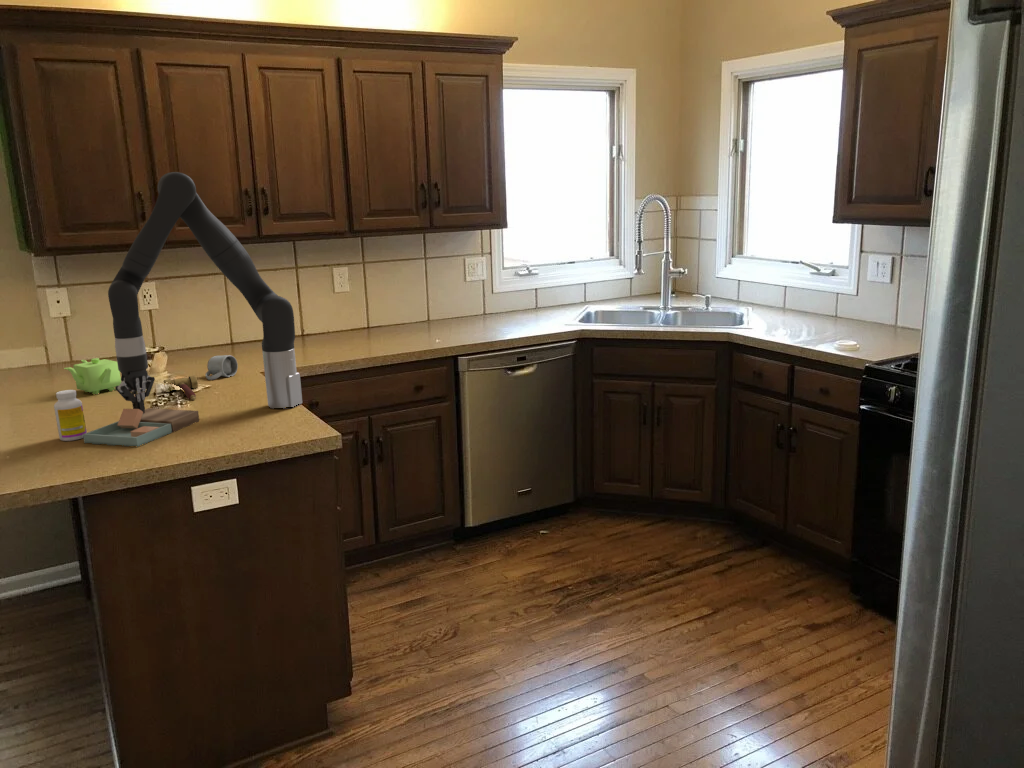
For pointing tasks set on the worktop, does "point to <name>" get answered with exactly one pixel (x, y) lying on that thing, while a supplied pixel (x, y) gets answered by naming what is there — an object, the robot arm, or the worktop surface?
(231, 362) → the ceramic mug
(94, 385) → the kettle
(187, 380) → the gavel
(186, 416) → the dark brown wooden board
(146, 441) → the tray
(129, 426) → the tile
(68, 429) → the supplement bottle
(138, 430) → the tile
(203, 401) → the worktop surface
